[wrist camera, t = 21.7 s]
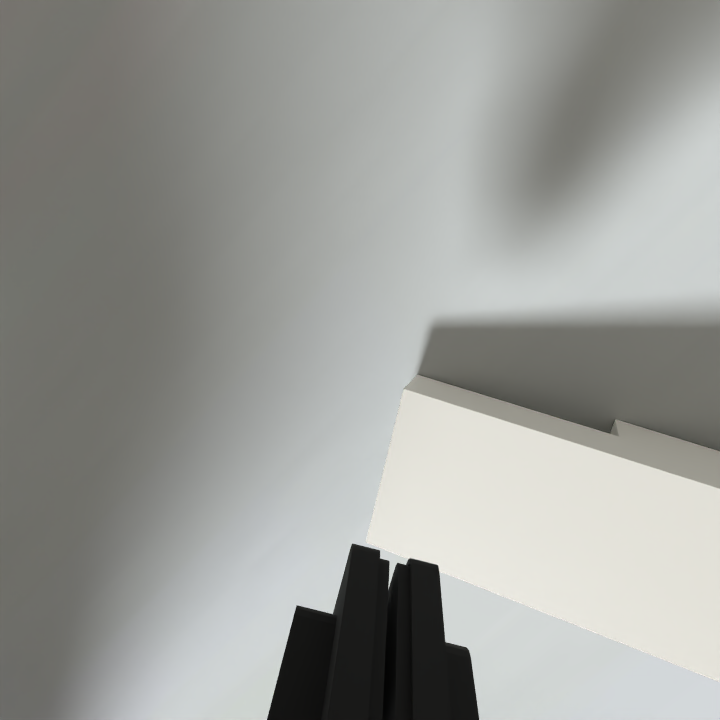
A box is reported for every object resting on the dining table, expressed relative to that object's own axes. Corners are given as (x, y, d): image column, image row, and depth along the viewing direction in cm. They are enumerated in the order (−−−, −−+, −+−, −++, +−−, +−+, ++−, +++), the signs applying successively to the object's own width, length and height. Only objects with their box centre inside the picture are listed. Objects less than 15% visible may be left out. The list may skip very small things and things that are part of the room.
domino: (365, 542, 18) (727, 685, 15) (403, 388, 16) (811, 518, 14) (381, 517, 19) (714, 643, 17) (417, 374, 18) (788, 488, 15)
